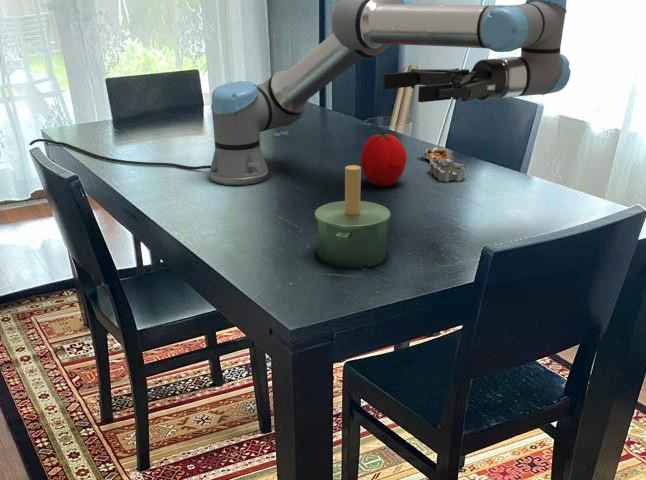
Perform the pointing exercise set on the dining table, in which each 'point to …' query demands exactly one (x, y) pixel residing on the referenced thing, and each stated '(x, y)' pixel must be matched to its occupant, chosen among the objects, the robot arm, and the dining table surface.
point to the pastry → (436, 154)
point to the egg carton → (446, 170)
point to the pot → (352, 245)
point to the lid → (352, 206)
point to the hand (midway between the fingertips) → (401, 87)
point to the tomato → (383, 159)
